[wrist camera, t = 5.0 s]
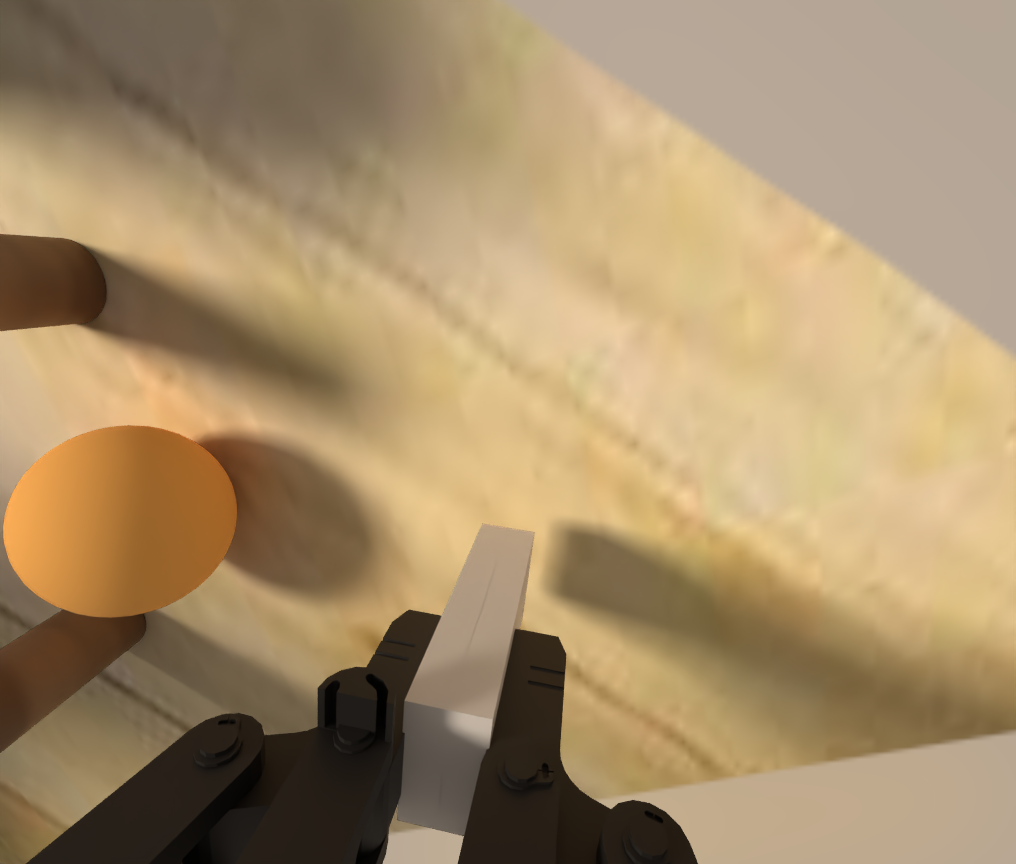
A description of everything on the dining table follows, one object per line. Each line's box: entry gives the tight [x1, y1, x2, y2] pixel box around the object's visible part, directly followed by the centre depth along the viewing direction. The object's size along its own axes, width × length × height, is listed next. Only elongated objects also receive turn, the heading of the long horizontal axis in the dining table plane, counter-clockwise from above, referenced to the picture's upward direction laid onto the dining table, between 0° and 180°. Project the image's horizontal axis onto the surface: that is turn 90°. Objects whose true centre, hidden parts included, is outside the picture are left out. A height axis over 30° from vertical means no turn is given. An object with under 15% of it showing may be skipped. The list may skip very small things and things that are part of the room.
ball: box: [3, 425, 237, 618], centre depth 16 cm, size 6×6×6 cm
